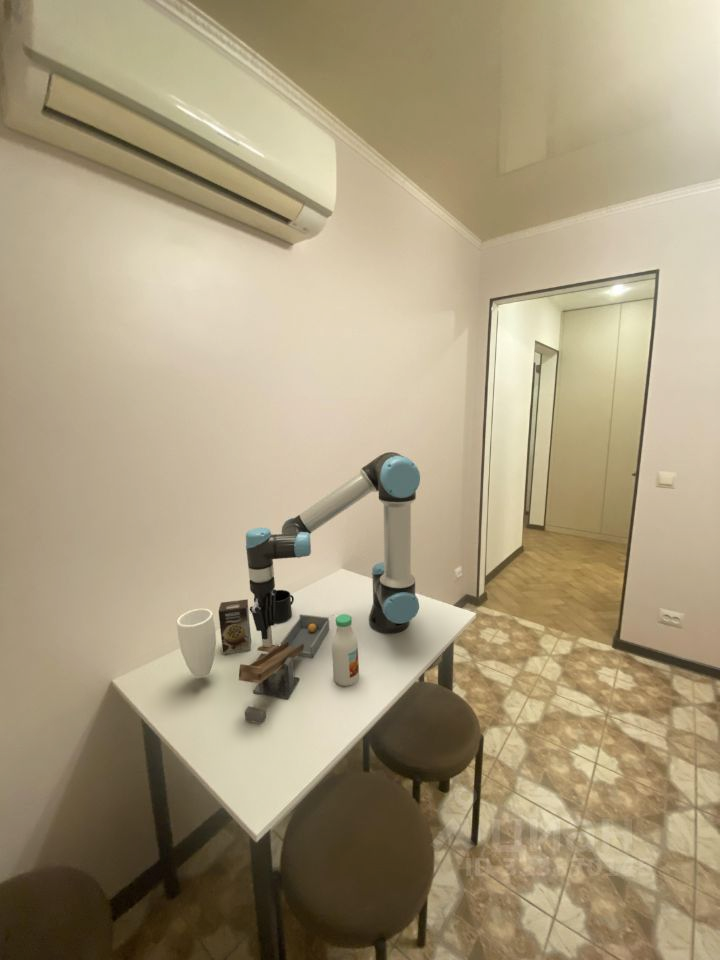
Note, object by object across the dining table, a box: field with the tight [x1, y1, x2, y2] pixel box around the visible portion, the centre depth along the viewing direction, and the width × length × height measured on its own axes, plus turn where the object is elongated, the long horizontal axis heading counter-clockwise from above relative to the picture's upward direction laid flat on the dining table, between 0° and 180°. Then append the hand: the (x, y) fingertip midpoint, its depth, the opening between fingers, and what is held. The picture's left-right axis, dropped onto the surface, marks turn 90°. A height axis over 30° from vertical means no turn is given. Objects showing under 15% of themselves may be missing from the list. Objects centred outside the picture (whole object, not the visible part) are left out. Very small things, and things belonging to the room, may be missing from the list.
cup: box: [176, 608, 217, 679], centre depth 115 cm, size 10×10×22 cm
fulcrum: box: [252, 653, 300, 700], centre depth 113 cm, size 11×8×9 cm
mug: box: [272, 589, 295, 624], centre depth 151 cm, size 9×12×9 cm
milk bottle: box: [331, 613, 360, 687], centre depth 114 cm, size 8×8×20 cm
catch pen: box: [280, 614, 330, 659], centre depth 134 cm, size 11×16×5 cm
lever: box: [238, 641, 304, 685], centre depth 113 cm, size 14×28×5 cm, turn 165°
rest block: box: [244, 705, 267, 724], centre depth 102 cm, size 5×2×2 cm, turn 75°
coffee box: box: [218, 599, 252, 656], centre depth 131 cm, size 9×6×16 cm
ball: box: [308, 623, 316, 632], centre depth 140 cm, size 3×3×3 cm
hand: (267, 645), depth 125 cm, fingers closed
